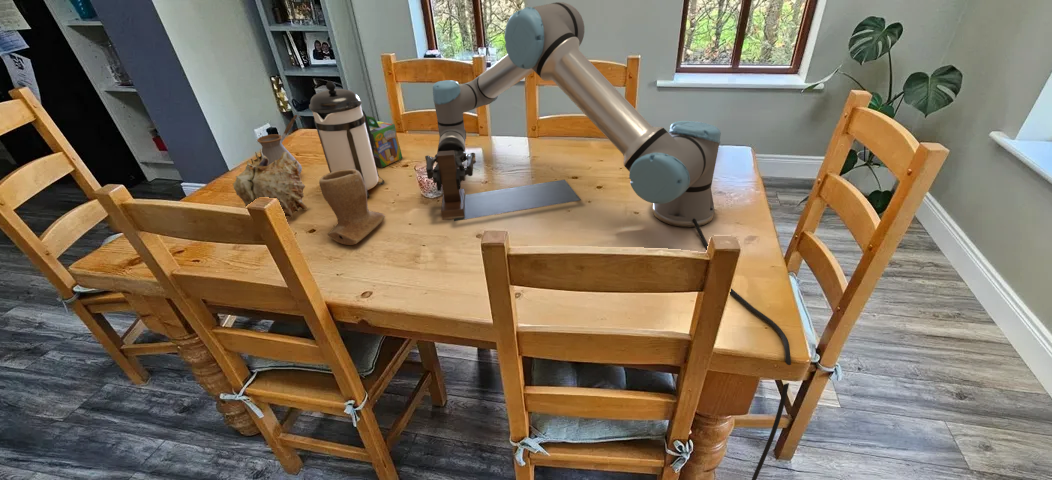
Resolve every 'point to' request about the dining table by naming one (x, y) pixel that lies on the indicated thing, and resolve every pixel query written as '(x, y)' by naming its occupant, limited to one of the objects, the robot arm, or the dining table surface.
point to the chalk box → (384, 142)
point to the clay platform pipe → (349, 206)
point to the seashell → (272, 182)
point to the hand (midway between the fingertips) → (448, 185)
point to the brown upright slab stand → (450, 187)
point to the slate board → (518, 199)
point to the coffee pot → (276, 145)
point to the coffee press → (345, 133)
